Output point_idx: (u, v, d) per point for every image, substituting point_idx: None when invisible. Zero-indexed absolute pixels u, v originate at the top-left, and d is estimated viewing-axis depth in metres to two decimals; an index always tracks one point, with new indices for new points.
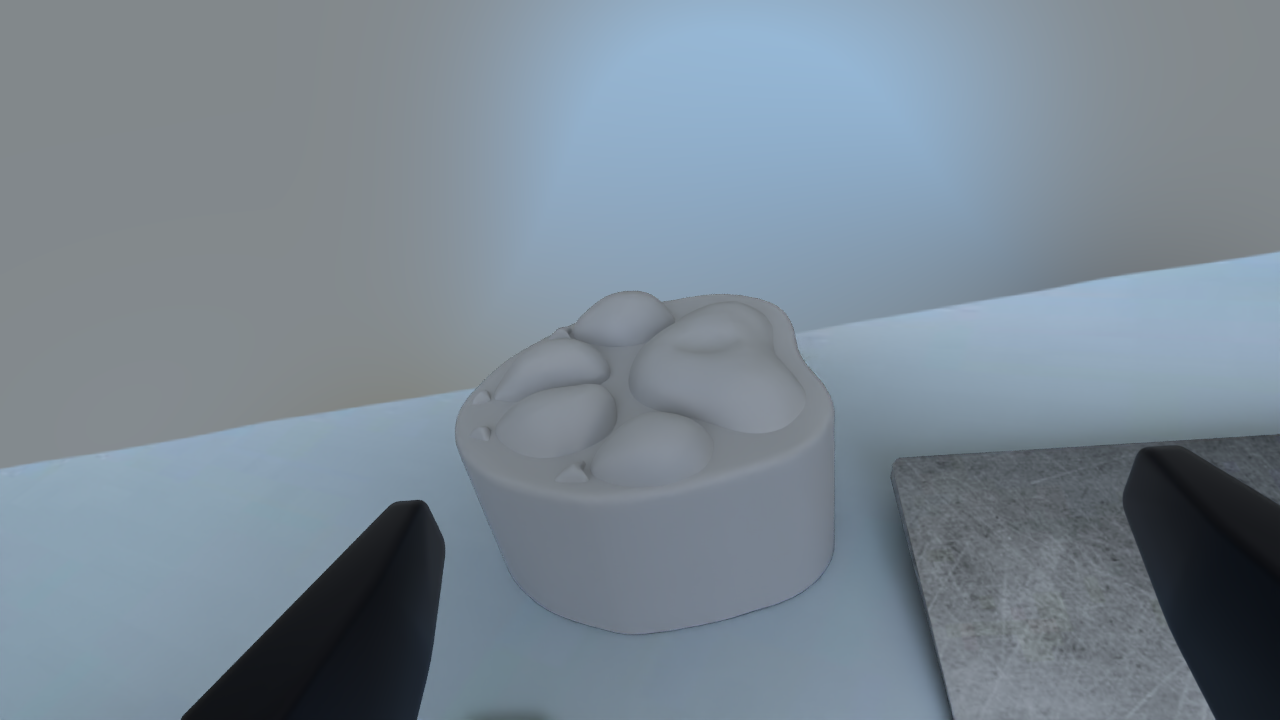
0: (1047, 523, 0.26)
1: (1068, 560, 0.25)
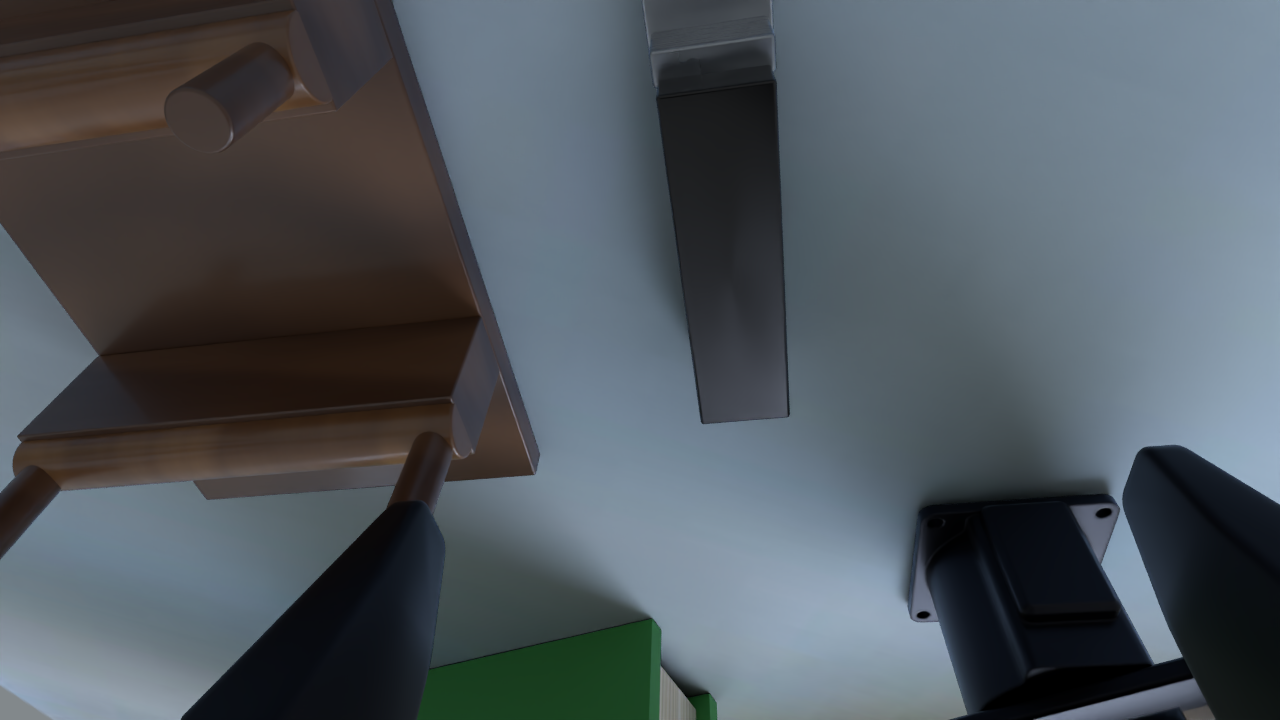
0: None
1: None
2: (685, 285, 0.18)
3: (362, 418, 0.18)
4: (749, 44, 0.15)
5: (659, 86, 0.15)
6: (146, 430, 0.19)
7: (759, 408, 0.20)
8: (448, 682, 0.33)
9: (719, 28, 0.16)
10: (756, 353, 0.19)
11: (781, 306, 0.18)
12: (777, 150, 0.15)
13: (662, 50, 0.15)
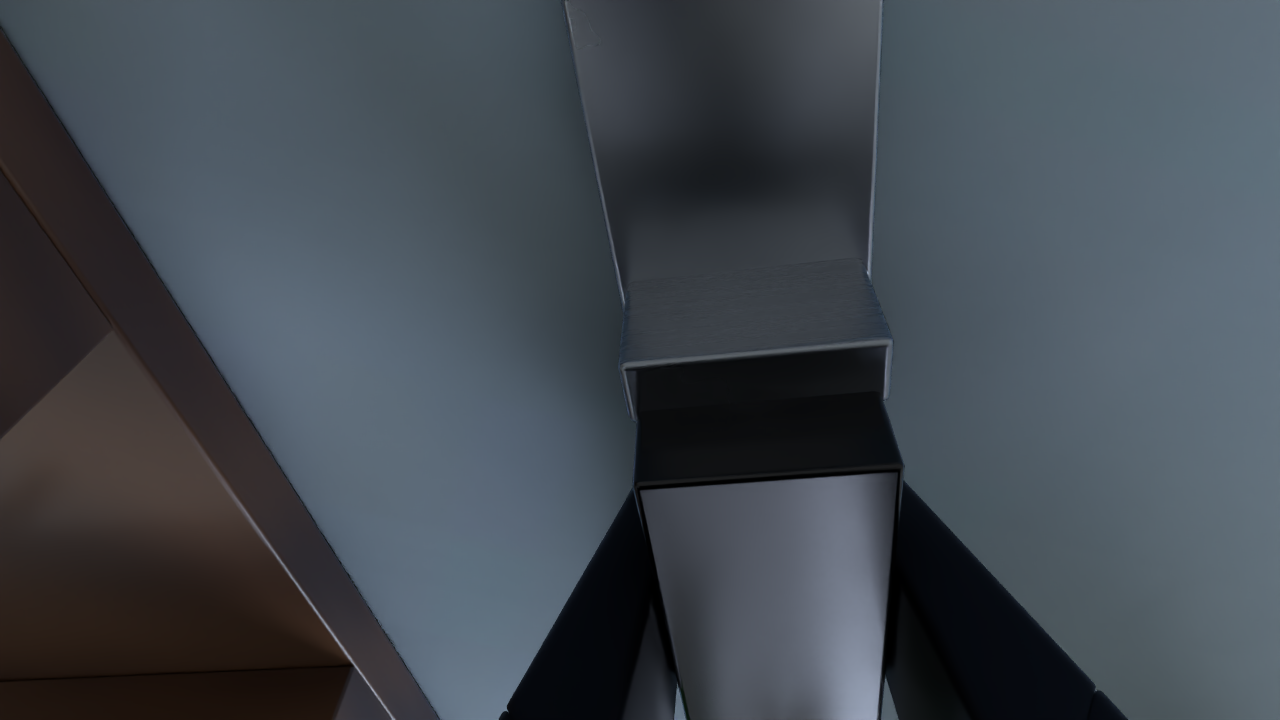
0: None
1: None
2: None
3: None
4: (836, 357, 0.07)
5: (640, 439, 0.07)
6: None
7: None
8: None
9: (766, 295, 0.08)
10: None
11: None
12: (892, 568, 0.07)
13: (646, 363, 0.07)
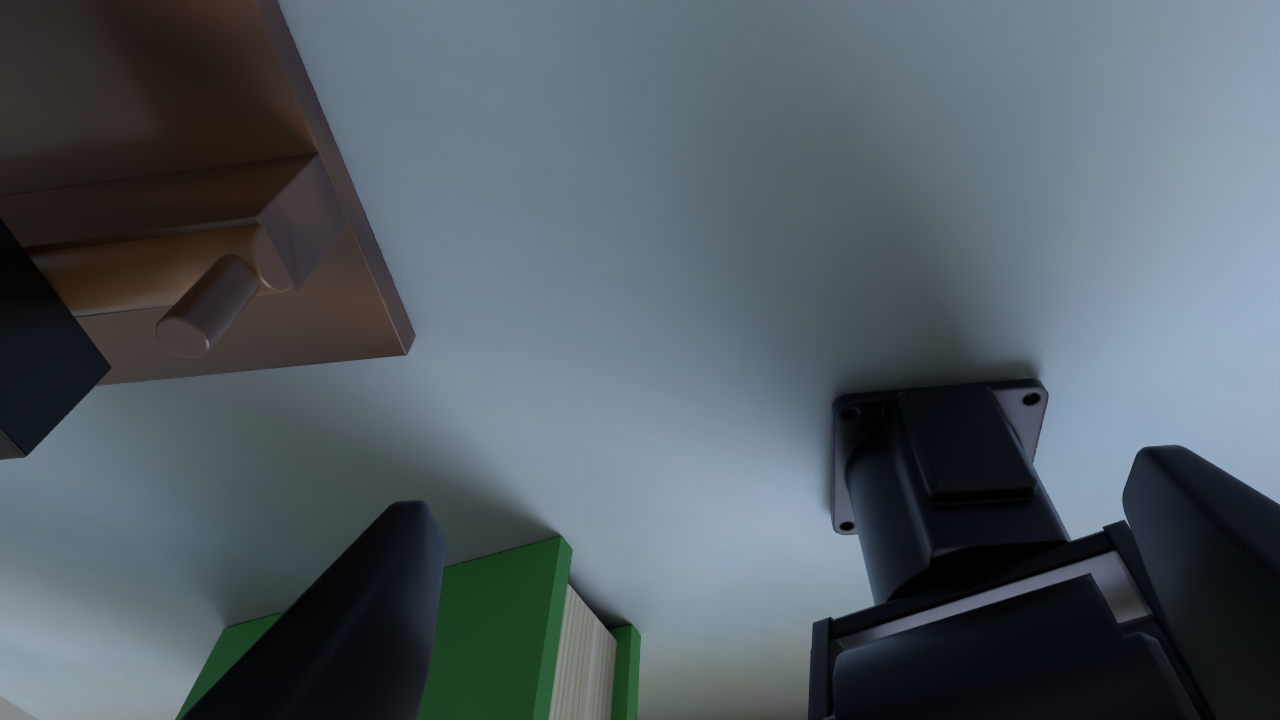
0: None
1: None
2: None
3: (158, 242, 0.16)
4: None
5: None
6: None
7: None
8: None
9: None
10: None
11: None
12: None
13: None
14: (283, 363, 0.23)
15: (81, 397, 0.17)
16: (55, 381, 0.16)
